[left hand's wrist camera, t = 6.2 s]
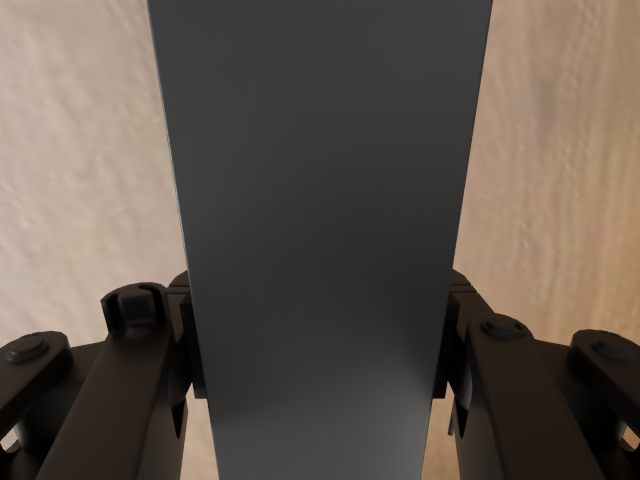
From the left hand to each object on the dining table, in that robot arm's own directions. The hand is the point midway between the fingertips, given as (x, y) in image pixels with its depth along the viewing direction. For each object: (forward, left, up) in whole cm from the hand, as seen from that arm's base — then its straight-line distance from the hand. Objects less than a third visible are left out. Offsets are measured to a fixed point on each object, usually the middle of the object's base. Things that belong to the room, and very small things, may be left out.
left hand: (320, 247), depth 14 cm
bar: (+9, 0, -1) cm, 9 cm away
